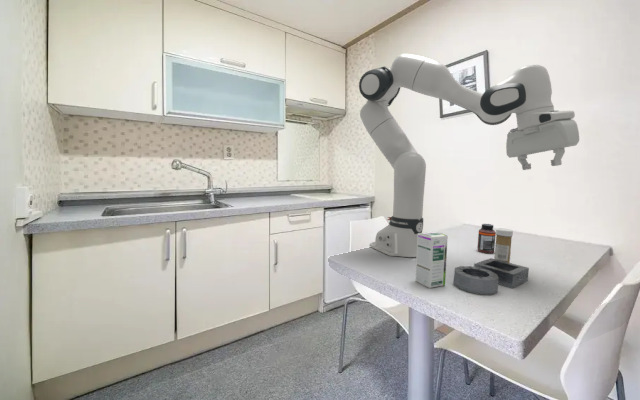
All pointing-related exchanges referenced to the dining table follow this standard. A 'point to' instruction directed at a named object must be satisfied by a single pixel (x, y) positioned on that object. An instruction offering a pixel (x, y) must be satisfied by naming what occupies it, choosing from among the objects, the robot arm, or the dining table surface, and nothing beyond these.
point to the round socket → (476, 280)
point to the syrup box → (431, 259)
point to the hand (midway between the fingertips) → (540, 167)
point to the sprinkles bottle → (503, 244)
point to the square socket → (505, 272)
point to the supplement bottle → (486, 239)
